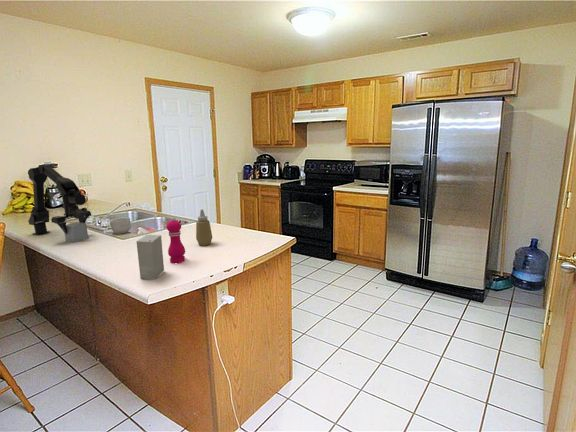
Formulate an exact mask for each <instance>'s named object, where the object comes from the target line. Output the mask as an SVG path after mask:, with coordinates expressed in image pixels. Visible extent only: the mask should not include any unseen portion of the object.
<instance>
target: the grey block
mask: <svg viewBox="0 0 576 432" xmlns="http://www.w3.org/2000/svg"><path fill="white" fill-rule="evenodd" d="M66 228H67V234H65V233H64V237H65V241H66V242H70V243H78V242H82V241H84V240H88V239H89V233H88V227H87V223H86V222H85V223H81V222H79V221H76V222H71V223H66Z"/></svg>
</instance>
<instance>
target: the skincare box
mask: <svg viewBox="0 0 576 432" xmlns="http://www.w3.org/2000/svg"><path fill="white" fill-rule="evenodd" d="M162 241H163V240H162V235H161V234H145V235H144V236H142V237H141V238H139V239H138V240H136V249H137V258H138V268H139V276H140V277H139V278H140V280H141V279H142V280H157V278H158V277H160V275H161V274H163V273H164V272H165V267H164V266H165V265H164V255H163V254H164V253H163V242H162ZM143 278H144V279H143Z"/></svg>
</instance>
